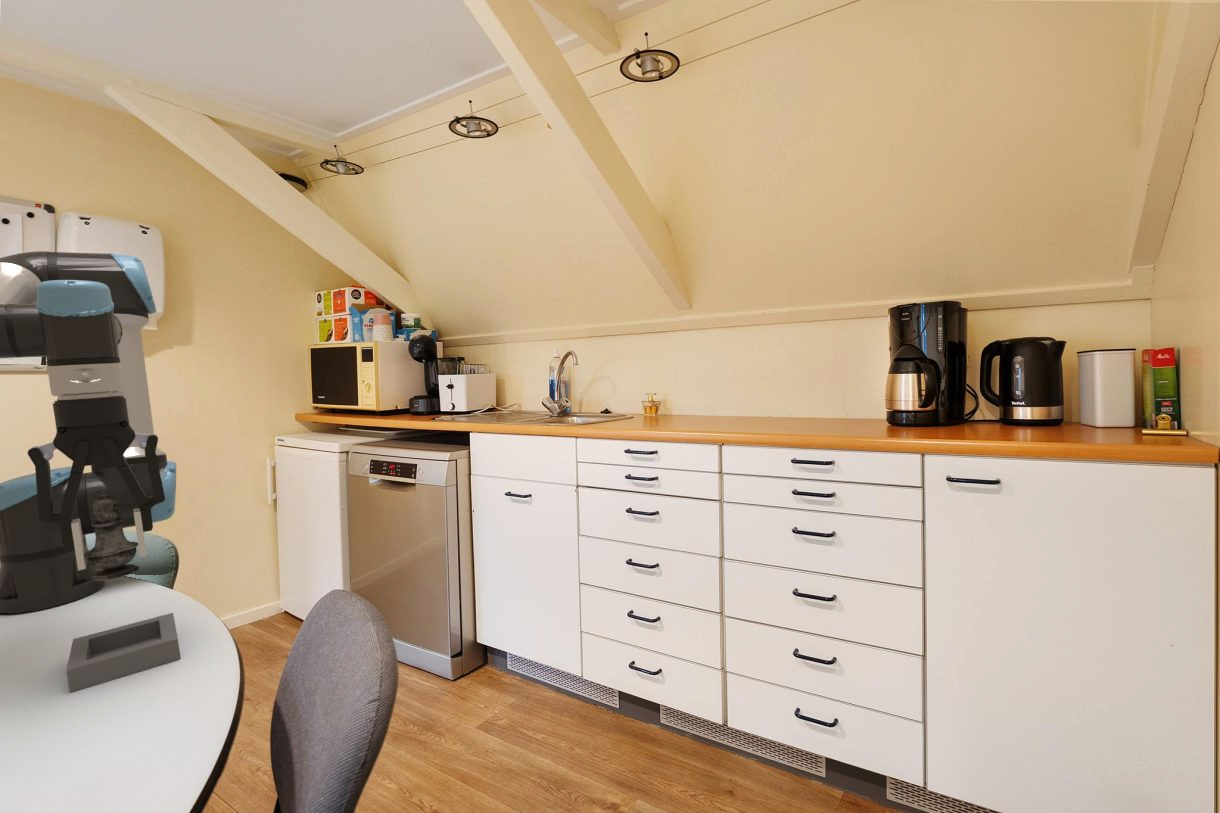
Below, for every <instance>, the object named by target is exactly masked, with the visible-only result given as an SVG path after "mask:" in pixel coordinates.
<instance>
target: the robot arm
mask: <svg viewBox="0 0 1220 813" xmlns="http://www.w3.org/2000/svg"><path fill="white" fill-rule="evenodd" d="M145 269H146V268H145V266H144V264H143V261H142V260H141V258H139V257H137V256H135V255H130V254H129V255H127V254H116V253H112V252H109V253H99V252H97V253H94V252H93V253H92V252H90V253H89V252H65V251H62V252H61V251H58V252H57V251H46V250H45V251H44V250H42V251H41V250H39V251H29V252H20V253H15V254H10V255H6V256H2V257H0V359H13V358H14V359H15V358H17V359H18V358H19V359H20V358H39V357H40V358H42V357H46V368H47V374H48V375H47V376H48V381H49V382H48V383H49V389H50V394H51V396H52V397H57V398H56V399H57V400H55V401H54V402H53V403H52V407H53V415H54V421H55V422H54V424H55V429H56V430H55V431H56V434H55V436H54V438H53V440H52V442H49V443H45V444H42V445H37V446H32V447H31V448H29V449H28V451H27V455H28V457H29V459H30V460H31V463H33V465H34V468H35V472H34V473H31V474H25V475H22V476H18V477H15V478H11V479H8V480H5V481H2V482H0V613H16V614H23V612H24V613H30V611H31V612H36V611H41V610H45V609H48V608H54V607H58V606H61V605H63V604H64V605H65V604H68V603H71V602H74V601H76V600H79V599H82V598H85V597H86V596H89V595H92V594H94V593H96V592H97V591H99V590H101V589H102V588H103V587H104V586H105V584H106V582H105V581H106V580H102V581H92V580H91V579H90V577H91V576H93V575H94V574H95V573H96V572H98V571H100V570H102V569H97V568H95V567H93V566H91V564H90V563H89V562H88V558H87V557H85V556H84V553H86V552H87V551H89V548H88V544H87V538H86V536H87V535H92V534H95V529H94V527H92V526H91V524H93V523H94V517H93V510H92V502H93V501H94V500H95V499H96V498H99V497H100V496H102V494H101V491H102V490H104V491H106V492H107V493H106V495H109V496H113V497H116V498H117V499H118V503H119V510H120V517H121V518H123V519H124V521H123V522H122V526H123V529H127V528H132V527H135V532H136V533H135V534H136V539H137V543H138V546H137V548H138V553H139V558H143V557H147V555H148V554H147V547H146V540H145V533H146V532H151V531H153V528H154V523H157V522H162V521H167V520H168V519H170V518H171V517H173V515H174V514H175V508H176V498H177V496H176V495H177V462H175V461H171V460H169V461H168V458H167V453H166V452H165V451H163V450H162V449H160V448H159V447H158V446H157V445H158V442H159V437H158V436H157V434H156V433H155V430H154V422H153V421H154V420H153V415H152V407H151V406H152V405H151V401H150V393H149V392H150V390H149V385H148V378H147V369H146V362H145V354H144V346H143V345H144V344H143V337H142V329H143V328H144V327H146V326H147V325H148V324H149V322H150V317H149V315H152V314H155V313H156V312H157V306H156V304H155V300H154V297H153V294H152V288H151V286H150V282H149V279H148V275H147V272H146V270H145ZM55 450H58V451H59V452H60V453H62V454H63V455H65V457H67V458H69V459H70V460H71V461H72V464H71V466H66V467H58V468H52V469H51V464H50V461H51V460H52V459H53V458H54V456H55V455H54V452H55ZM86 466H90V468H91V471H89V472H84V470H85V468H86Z"/></svg>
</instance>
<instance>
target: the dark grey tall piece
mask: <svg viewBox="0 0 1220 813" xmlns="http://www.w3.org/2000/svg"><path fill="white" fill-rule="evenodd" d="M106 493H107V492H106V491H104V490H102V491H101V494H102V496H100V497H99V498H96V499H95V500H94V501H93V502H92V510H93V517H94V523H93V524H91V526H92V527H94V529H95V533H94V534H95V543H94V546H93V547H92V549H90V550H89V549H88V550H89V551H87V552H86V553H84V556H85V557H87V558H88V562H89V563H90V564H91V566H93V567H95V568H97V569H101V570H100V571H98V572H96V573H95V574H94V575H93V576H91V577H90V579H91V580H92V581H102V580H105V581H109V580H114V579H119V578H122V577H125V576H129V575H131V574H133V573H135V572H137V571H139V570H140V566H138V565H135V564H131V563H130V562H131V561H133V559H134V558H135V557H136V554H137V548H138V541H130V540H128V539H127V537H126V535H125V533H124V528H123V526H122V522H123V521H124V519H123V518H121V517H120V510H119V503H118V499H117V498H116V497H113V496H109V495H106ZM129 563H130V564H129Z"/></svg>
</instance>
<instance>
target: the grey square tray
mask: <svg viewBox="0 0 1220 813" xmlns="http://www.w3.org/2000/svg"><path fill="white" fill-rule="evenodd" d="M69 652H70V653H69V655H68V656H69V657H68V662H67V665H66V677H67V682H68V689H69V693H73V692H76V691H80V690H83V689H86V688H90V687H93V686H97V685H99V684H103V683H106V682H110V681H114V680H117V679H119V678H122V677H126V676H129V675H133V674H135V673H139V672H143V671H145V670H149V669H151V668H156V667H158V666H161V665H165V664H167V663H171V662H174V661H178V660H181V651H180V644H179V638H178V631H177V627H176V621H175V616H174V612H170V613H167V614H162V615H159V616H156V617H152V618H147V619H144V620H140V621H136V622H132V623H129V624H125V625H121V626H118V627H114V628H110V629H107V630H106V629H105V630H103V631H99V632H94V633H92V634H87V635H84V636H80V637H76V638H72V643H71V646H70V651H69Z"/></svg>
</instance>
